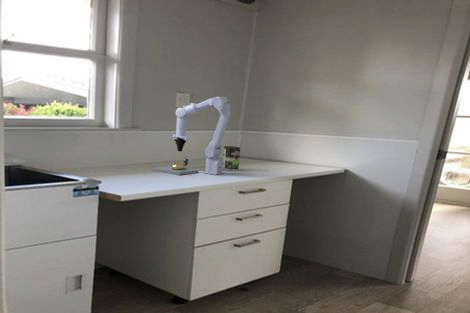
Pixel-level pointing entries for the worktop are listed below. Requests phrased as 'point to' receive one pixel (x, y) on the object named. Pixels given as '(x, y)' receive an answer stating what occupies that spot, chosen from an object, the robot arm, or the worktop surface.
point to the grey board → (173, 171)
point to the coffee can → (231, 158)
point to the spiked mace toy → (180, 165)
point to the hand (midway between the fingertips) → (179, 151)
